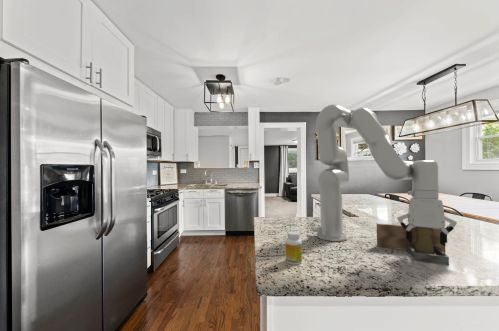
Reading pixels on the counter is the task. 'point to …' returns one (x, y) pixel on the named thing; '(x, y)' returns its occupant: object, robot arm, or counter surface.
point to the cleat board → (410, 243)
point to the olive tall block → (424, 240)
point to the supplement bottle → (293, 248)
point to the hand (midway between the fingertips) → (425, 243)
